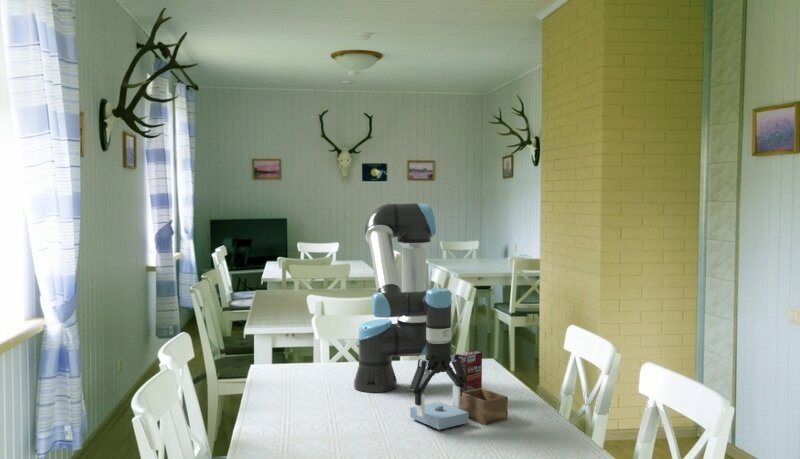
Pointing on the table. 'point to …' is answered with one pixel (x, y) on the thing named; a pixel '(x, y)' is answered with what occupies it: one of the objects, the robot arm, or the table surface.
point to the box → (484, 406)
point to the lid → (440, 415)
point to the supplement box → (471, 369)
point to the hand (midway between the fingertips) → (438, 411)
